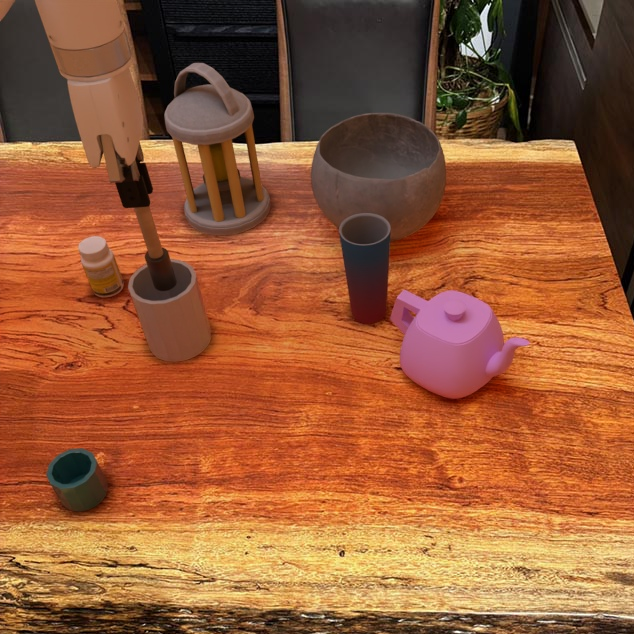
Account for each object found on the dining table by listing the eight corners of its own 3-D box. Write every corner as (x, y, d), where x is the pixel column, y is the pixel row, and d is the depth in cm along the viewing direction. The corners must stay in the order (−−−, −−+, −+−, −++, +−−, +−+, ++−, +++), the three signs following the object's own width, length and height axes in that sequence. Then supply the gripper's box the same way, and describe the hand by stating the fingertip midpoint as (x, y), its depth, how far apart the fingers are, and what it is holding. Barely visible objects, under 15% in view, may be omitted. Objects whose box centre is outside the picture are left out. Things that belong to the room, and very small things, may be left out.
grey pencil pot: (144, 364, 111) (123, 305, 102) (152, 319, 116) (133, 261, 108) (208, 359, 111) (192, 301, 103) (213, 315, 117) (198, 256, 108)
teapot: (495, 433, 101) (503, 374, 92) (366, 367, 109) (362, 308, 101) (545, 367, 108) (556, 307, 99) (420, 310, 116) (421, 250, 108)
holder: (56, 513, 95) (42, 489, 91) (65, 474, 99) (52, 450, 95) (104, 510, 95) (91, 486, 91) (111, 471, 99) (99, 446, 95)
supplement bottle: (101, 275, 123) (84, 232, 117) (129, 279, 123) (114, 235, 116) (87, 296, 120) (69, 253, 114) (116, 300, 120) (100, 256, 113)
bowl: (403, 282, 120) (402, 199, 109) (292, 240, 128) (280, 158, 116) (466, 210, 131) (471, 127, 120) (361, 175, 139) (356, 94, 128)
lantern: (287, 198, 135) (268, 55, 116) (235, 245, 127) (206, 100, 109) (221, 175, 140) (192, 34, 122) (167, 219, 132) (128, 76, 114)
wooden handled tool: (152, 292, 105) (111, 167, 91) (155, 277, 107) (115, 152, 93) (175, 290, 105) (137, 165, 91) (178, 275, 107) (141, 150, 93)
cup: (396, 324, 114) (395, 241, 103) (349, 331, 114) (342, 248, 102) (388, 293, 119) (385, 209, 107) (342, 299, 118) (335, 216, 107)
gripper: (70, 18, 87) (117, 164, 101) (38, 92, 77) (96, 243, 91) (139, 14, 87) (177, 160, 101) (117, 87, 77) (162, 239, 91)
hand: (138, 198), depth 96 cm, fingers closed on wooden handled tool
